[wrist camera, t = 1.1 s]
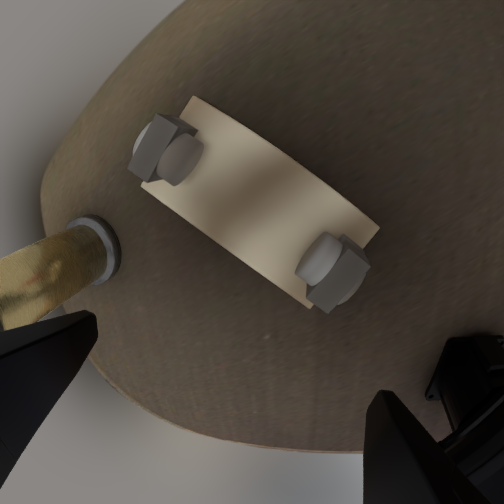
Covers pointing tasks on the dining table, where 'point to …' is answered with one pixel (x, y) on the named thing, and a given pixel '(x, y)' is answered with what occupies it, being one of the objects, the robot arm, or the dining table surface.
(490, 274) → the dining table surface
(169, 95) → the dining table surface
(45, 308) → the metal capped yellow cylinder
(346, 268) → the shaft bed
